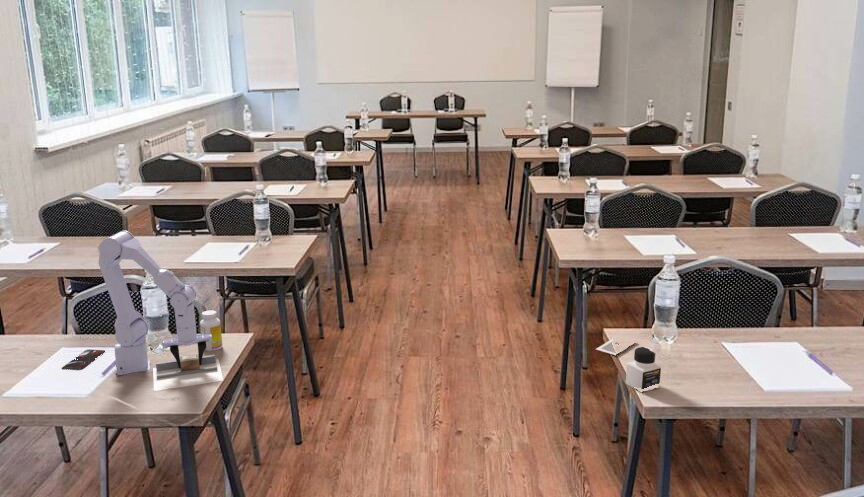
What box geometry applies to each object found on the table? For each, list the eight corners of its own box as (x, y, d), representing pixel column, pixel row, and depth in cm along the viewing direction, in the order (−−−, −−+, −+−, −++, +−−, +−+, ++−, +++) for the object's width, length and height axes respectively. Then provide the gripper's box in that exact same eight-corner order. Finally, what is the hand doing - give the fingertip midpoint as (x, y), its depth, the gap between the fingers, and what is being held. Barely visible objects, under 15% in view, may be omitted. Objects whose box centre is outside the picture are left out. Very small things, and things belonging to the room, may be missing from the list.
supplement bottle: (225, 344, 256) (222, 309, 252) (218, 352, 250) (215, 316, 246) (206, 343, 257) (203, 308, 253) (199, 351, 250) (195, 315, 247)
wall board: (154, 392, 222) (152, 381, 221) (153, 369, 237) (152, 359, 236) (223, 382, 228) (222, 371, 227) (218, 360, 244) (217, 350, 243)
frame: (181, 373, 233) (180, 360, 231) (181, 369, 236) (179, 356, 235) (200, 371, 234) (198, 358, 233) (199, 366, 238) (198, 353, 237)
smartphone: (60, 368, 237) (86, 349, 252) (60, 370, 238) (86, 351, 252) (81, 369, 237) (106, 350, 251) (82, 371, 237) (107, 352, 251)
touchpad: (595, 352, 251) (595, 346, 250) (616, 338, 261) (617, 333, 261) (616, 358, 246) (616, 352, 245) (637, 344, 256) (638, 338, 256)
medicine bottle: (641, 393, 221) (644, 356, 217) (625, 384, 227) (627, 347, 224) (659, 388, 224) (663, 351, 221) (642, 379, 230) (646, 343, 227)
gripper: (161, 333, 225) (165, 374, 229) (211, 326, 230) (214, 367, 234) (160, 324, 232) (165, 365, 235) (209, 318, 236) (213, 358, 240)
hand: (190, 365), depth 235 cm, fingers closed on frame, 5 cm apart
